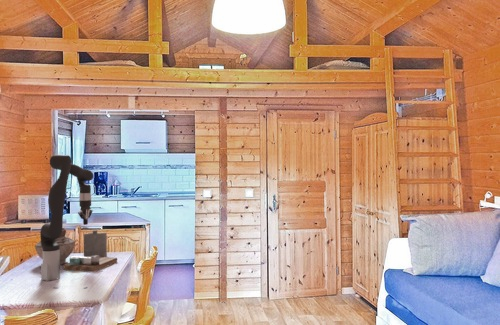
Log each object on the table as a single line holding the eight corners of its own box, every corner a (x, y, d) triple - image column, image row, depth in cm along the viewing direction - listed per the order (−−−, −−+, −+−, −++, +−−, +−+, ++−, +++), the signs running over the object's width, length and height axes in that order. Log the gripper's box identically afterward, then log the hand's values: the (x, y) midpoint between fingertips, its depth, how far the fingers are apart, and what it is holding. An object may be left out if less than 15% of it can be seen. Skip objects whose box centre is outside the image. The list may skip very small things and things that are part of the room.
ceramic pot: (81, 263, 276) (80, 228, 276) (43, 270, 258) (42, 233, 258) (66, 257, 293) (66, 225, 293) (29, 264, 275) (29, 229, 275)
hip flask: (107, 255, 298) (106, 229, 298) (106, 256, 294) (106, 229, 294) (84, 257, 294) (83, 230, 294) (83, 258, 290) (83, 231, 290)
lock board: (117, 262, 278) (116, 251, 278) (94, 271, 254) (94, 260, 254) (88, 260, 284) (87, 250, 284) (63, 269, 260) (63, 258, 260)
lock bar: (100, 263, 262) (100, 255, 262) (96, 265, 257) (96, 257, 257) (74, 261, 267) (74, 253, 267) (69, 263, 262) (69, 255, 262)
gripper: (83, 200, 268) (84, 226, 268) (96, 198, 281) (96, 223, 281) (74, 200, 270) (74, 225, 270) (86, 198, 282) (87, 222, 282)
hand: (85, 224), depth 275 cm, fingers closed
